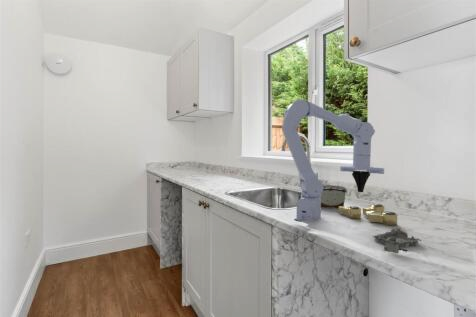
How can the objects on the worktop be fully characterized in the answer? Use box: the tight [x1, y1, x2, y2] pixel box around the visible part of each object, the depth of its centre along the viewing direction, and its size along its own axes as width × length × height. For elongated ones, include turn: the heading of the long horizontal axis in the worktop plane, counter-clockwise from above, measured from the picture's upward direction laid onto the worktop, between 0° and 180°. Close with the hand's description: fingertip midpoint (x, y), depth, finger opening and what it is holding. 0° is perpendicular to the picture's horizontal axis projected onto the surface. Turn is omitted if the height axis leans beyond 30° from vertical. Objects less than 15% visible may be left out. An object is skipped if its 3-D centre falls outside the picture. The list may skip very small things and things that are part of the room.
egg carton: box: [372, 227, 422, 254], centre depth 69 cm, size 11×8×4 cm
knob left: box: [337, 205, 362, 220], centre depth 94 cm, size 8×4×4 cm, turn 29°
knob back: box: [362, 203, 385, 217], centre depth 95 cm, size 8×4×4 cm, turn 108°
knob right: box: [368, 210, 399, 227], centre depth 85 cm, size 8×4×4 cm, turn 67°
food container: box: [321, 184, 348, 210], centre depth 109 cm, size 12×6×10 cm, turn 74°
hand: (360, 191), depth 93 cm, fingers closed
